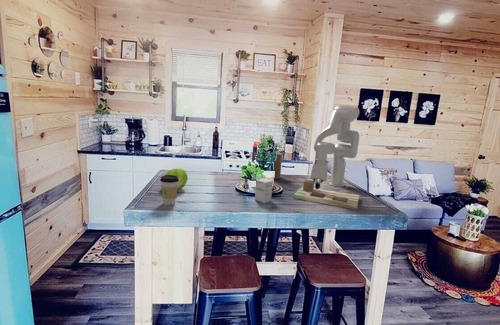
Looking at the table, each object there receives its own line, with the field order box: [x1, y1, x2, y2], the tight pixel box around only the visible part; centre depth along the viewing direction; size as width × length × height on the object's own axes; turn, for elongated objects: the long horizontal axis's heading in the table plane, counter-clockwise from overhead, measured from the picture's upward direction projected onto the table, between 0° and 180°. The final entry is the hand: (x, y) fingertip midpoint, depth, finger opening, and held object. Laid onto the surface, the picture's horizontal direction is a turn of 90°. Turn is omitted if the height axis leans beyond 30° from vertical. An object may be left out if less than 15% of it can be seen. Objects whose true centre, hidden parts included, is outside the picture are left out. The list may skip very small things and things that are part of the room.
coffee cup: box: [159, 174, 179, 206], centre depth 164 cm, size 10×10×15 cm
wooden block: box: [274, 151, 283, 180], centre depth 239 cm, size 10×10×20 cm
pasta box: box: [251, 141, 260, 162], centre depth 223 cm, size 28×8×28 cm, turn 178°
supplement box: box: [254, 177, 274, 204], centre depth 180 cm, size 7×7×13 cm
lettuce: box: [164, 168, 189, 190], centre depth 190 cm, size 15×20×14 cm
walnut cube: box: [302, 179, 315, 191], centre depth 203 cm, size 6×6×6 cm
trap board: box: [293, 185, 360, 210], centre depth 194 cm, size 24×38×2 cm, turn 67°
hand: (317, 188), depth 202 cm, fingers closed
